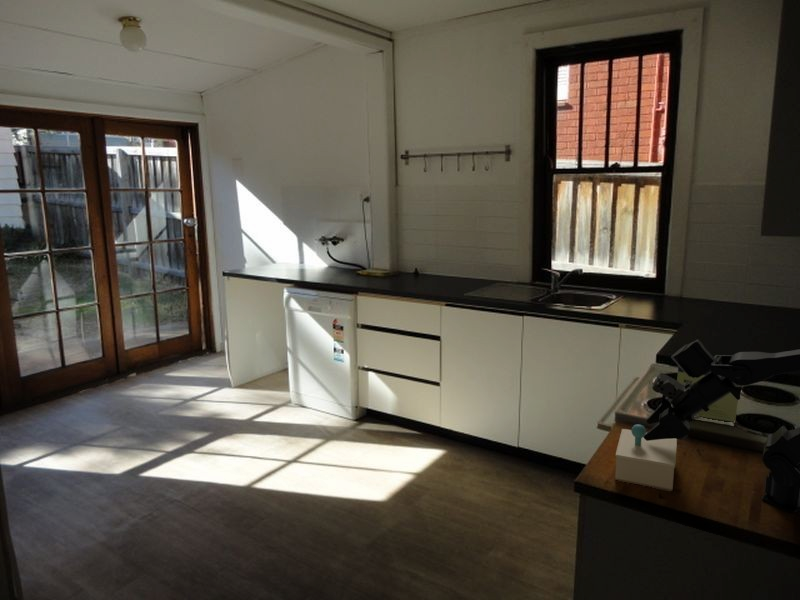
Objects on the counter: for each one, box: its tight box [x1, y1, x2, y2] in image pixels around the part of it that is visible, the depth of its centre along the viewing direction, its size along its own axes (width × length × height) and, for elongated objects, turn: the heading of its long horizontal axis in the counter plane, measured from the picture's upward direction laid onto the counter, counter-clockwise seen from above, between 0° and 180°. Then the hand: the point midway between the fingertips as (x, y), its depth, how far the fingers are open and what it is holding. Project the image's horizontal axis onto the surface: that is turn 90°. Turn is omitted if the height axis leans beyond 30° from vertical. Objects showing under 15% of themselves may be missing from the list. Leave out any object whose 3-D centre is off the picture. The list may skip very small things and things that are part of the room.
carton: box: [614, 457, 675, 492], centre depth 138 cm, size 12×14×6 cm
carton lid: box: [615, 423, 678, 468], centre depth 136 cm, size 12×14×6 cm
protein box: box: [676, 365, 739, 422], centre depth 165 cm, size 10×16×16 cm
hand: (646, 430), depth 136 cm, fingers open, 9 cm apart
